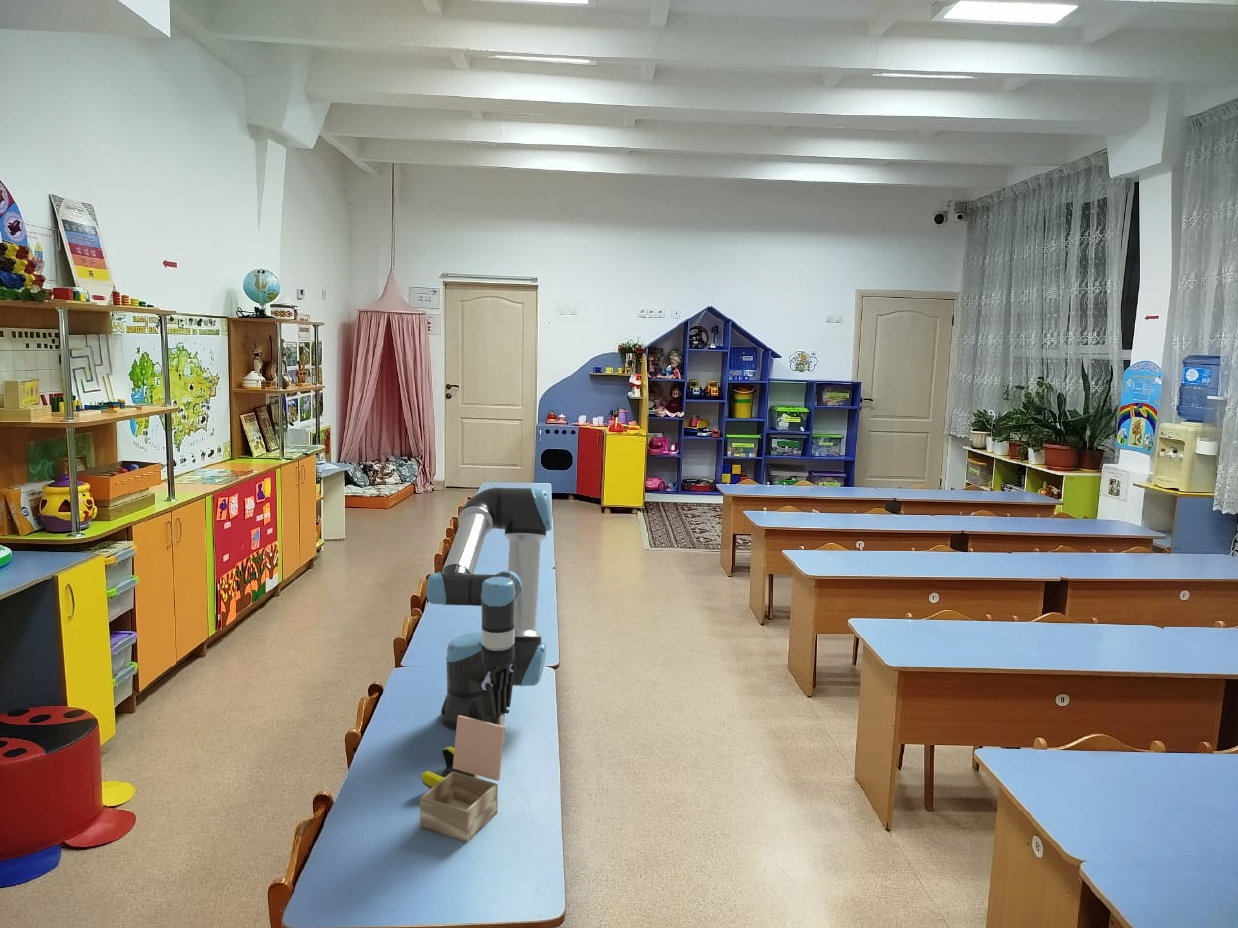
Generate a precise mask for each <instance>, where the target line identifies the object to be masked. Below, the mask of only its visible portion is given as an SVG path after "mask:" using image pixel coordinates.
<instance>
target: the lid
mask: <svg viewBox="0 0 1238 928" xmlns="http://www.w3.org/2000/svg"><path fill="white" fill-rule="evenodd" d="M505 730H506V726H505V725H504V726H501V725H497V724H493V723H489V722H485V721H481V720H477V719H473V718H469V717H465V716H461V715H459V716H458V717H457V728H456V730H455V739H454V741H455V742H454V748H455V749H454V759H453V769H457V770H460V771H464V772H468V773H471V774H475V775H477V777H478V776H479V777H483V778H486V779H489V780H493V781H496V782H498V781H500V780H501V768H502V767H501V766H502V758H503V751H504V750H503V747H504V741H505V733H506V731H505ZM503 740H504V741H503Z"/></svg>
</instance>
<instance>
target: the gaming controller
mask: <svg viewBox="0 0 1238 928" xmlns="http://www.w3.org/2000/svg"><path fill="white" fill-rule="evenodd" d="M454 749H455V747H452V746H447V747H445V748H443V750H442V752H441V753H442V754H441V755H442V758H443V761H444V763H445V767H446V768H445V770H444V771H443V772H442V773H441V774H440V775H439V774H437V773H434V772H432V771H428V770H426V771H424V772H422V774H421V781H422V784H423V785H424V786H425V787H427V788H428V790H430V789H431V788H433V787H434V786H435V785H436V784H438V783H439V782H440V781H441V780H442V779H444V778H445V777H446V776H447V775H449V774H450V773H451V772H452V771H453V772H457V773H460V774H464V775H467V776H471V777H474V778H477V777H478V775H475V774H471V773H468V772H464V771H460V770H457V769H453V759H454Z"/></svg>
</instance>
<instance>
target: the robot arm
mask: <svg viewBox="0 0 1238 928" xmlns="http://www.w3.org/2000/svg"><path fill="white" fill-rule="evenodd" d="M550 501H551V500H550V496H549V493H548V491H546V490H545V489H540V488H533V487H531V488H529V487H528V488H524V487H523V488H522V487H519V488H518V487H492V488H487V489H484V490H482V491H480V492H478V493H477V494H475V495H474V496H472V497H471V498H470V499H469V500H468V501H466V502H465V504H464V505H463V507H462V508H461V510H460V511H459V514H458V517H457V524H458V527H457V531H456V533H455V536H454V539H453V541H452V544H451V547H450V549H449V552H448V554H447V558H446V560H445V563H444V565H443V568H442V571H441V572H440V571H438V572H433V573H431V574H430V575H429V576H428V578H427V583H426V599H427V601H428V603H430V604H432V605H440V606H441V605H443V606H474V607H475V606H478V607H481V632H471V633H470V632H469V633H466V634H465V633H464V634H462V635H459V636H456V637H455V638H453V639H452V640H450V642H449V643H448V645H447V649H446V657H445V661H446V695H445V698H444V700H443V704H442V707H441V711H440V721H441V724H442V725H443V726H445V727H446V728H448V729H451V730H455V731H456V728H457V717H458V716H459V715H461V716H465V717H469V718H473V719H477V720H481V721H485V722H489V723H493V724H497V725H501V726H505V722H506V721H505V720H506V719H505V717H506V716H505V714H507V715H508V714H509V712H510V710H509V709H508V708H509V707H510V706H511V702H512V695H513V694H512V693H513V687H514V686H519V687H529V686H530V687H531V686H532V687H533V686H537V685H538V684H539V683H540V682H541V679H542V675H543V671H544V667H545V661H546V657H547V654H546V653H547V643H546V642H544V641H542V635H541V634H540V632H539V631H538V629H537V624H538V623H537V619H538V617H537V616H538V599H539V598H538V596H539V578H540V577H539V576H540V575H539V574H540V559H541V558H540V555H541V554H540V553H541V543H542V542H543V541H544V540H545V539H546V538H547V532H549V531H551V530H552V529H553V521H552V520H553V519H552V517H553V516H552V508H551V502H550ZM493 529H494V530H495V529H496V530H497V529H498V530H504V536H505V538H506V539H507V540H508V542H509V545H508V546H509V551H508V566H507V570H502V571H499V572H498V573H496V574H485V573H484V574H483V573H480V574H477V573H475V569H476V567H477V563H478V560H479V557H480V554H481V551H482V548H483V546H484V545H483V544H484V542H485V540H486V539H485V538H486V536H487V535H488V534H489V533H490V532H491V531H492V530H493ZM504 741H505V739H504V740H503V742H504Z"/></svg>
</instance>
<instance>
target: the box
mask: <svg viewBox="0 0 1238 928" xmlns="http://www.w3.org/2000/svg"><path fill="white" fill-rule="evenodd" d="M498 785H499V784H498V783H495V782H492V781H487V780H485V779H480V778H478V777H476V778H474V777H471V776H467V775H464V774H460V773H457V772H453V771H452V772H451V773H450V774H449V775H447V776H446V777H445V778H444V779H442V780H441V781H440V782H439V783H438V784H436V785H435V786H434V787H433V788H431V789H428V791H426V792H425V793H424V794H422V795H421V796H420V798H419V817H420V819H419V820H420V821H419V822H420V823H419V826H420V827H419V828H420V829H424V830H427V831H429V832H433V833H436V834H439V835H442V836H446V837H449V838H452V839H455V840H458V841H461V842H464V843H468V842H470V840H471V839H473V838H474V836H475V835H476V834H478V833H479V832H480V831H481V830H482V829H483V828H484V827H485V826H486V825H487V823H489V822H490V821H491V820H492V819H493V818H494V817H495V816H496V815H497V814H498V805H499V804H498V802H499V800H498V794H499V793H498V792H499V791H498Z"/></svg>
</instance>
